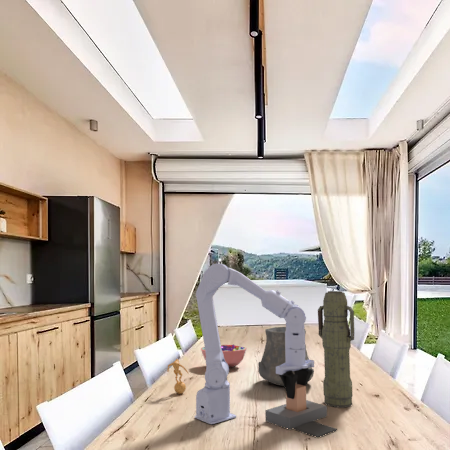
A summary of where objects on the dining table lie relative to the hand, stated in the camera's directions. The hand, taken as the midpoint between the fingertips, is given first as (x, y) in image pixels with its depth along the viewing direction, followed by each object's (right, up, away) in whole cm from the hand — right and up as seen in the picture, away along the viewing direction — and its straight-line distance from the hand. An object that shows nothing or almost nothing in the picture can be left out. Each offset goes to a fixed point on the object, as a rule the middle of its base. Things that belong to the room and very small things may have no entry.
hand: (296, 396), depth 128 cm
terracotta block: (0, -4, 0) cm, 4 cm away
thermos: (+15, -8, +14) cm, 22 cm away
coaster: (+4, -5, -9) cm, 11 cm away
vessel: (+3, -10, +37) cm, 39 cm away
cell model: (-21, -13, +65) cm, 70 cm away
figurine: (-36, -9, +25) cm, 45 cm away
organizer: (0, -6, -1) cm, 6 cm away
